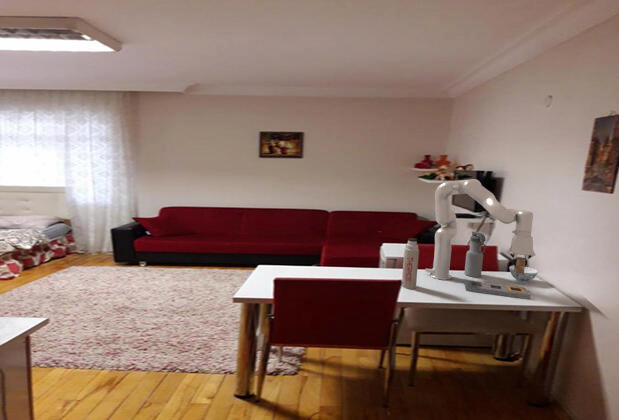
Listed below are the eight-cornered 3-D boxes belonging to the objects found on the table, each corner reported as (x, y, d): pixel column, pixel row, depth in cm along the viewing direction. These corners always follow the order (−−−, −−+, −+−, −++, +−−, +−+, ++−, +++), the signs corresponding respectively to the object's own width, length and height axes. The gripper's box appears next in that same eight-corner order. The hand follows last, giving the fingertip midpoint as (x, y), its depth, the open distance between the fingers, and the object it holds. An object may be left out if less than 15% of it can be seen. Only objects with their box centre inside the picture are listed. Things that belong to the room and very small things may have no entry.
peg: (515, 272, 199) (517, 258, 198) (514, 270, 202) (515, 256, 201) (523, 273, 197) (525, 259, 196) (522, 271, 201) (523, 257, 200)
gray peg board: (465, 290, 204) (466, 286, 204) (464, 283, 216) (464, 279, 215) (530, 299, 195) (530, 294, 194) (524, 291, 206) (525, 287, 206)
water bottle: (484, 276, 230) (489, 233, 226) (474, 278, 226) (478, 234, 221) (471, 271, 239) (475, 230, 235) (460, 273, 235) (465, 231, 230)
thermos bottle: (411, 290, 202) (415, 241, 198) (399, 286, 208) (402, 238, 203) (418, 286, 208) (422, 239, 204) (405, 283, 213) (409, 236, 209)
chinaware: (534, 287, 214) (536, 274, 212) (506, 281, 222) (507, 269, 221) (537, 281, 225) (539, 269, 224) (510, 275, 234) (511, 264, 233)
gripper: (507, 233, 196) (504, 266, 198) (542, 236, 191) (538, 269, 193) (504, 231, 203) (501, 262, 205) (538, 233, 198) (534, 265, 200)
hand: (519, 265), depth 199 cm, fingers closed on peg, 4 cm apart
